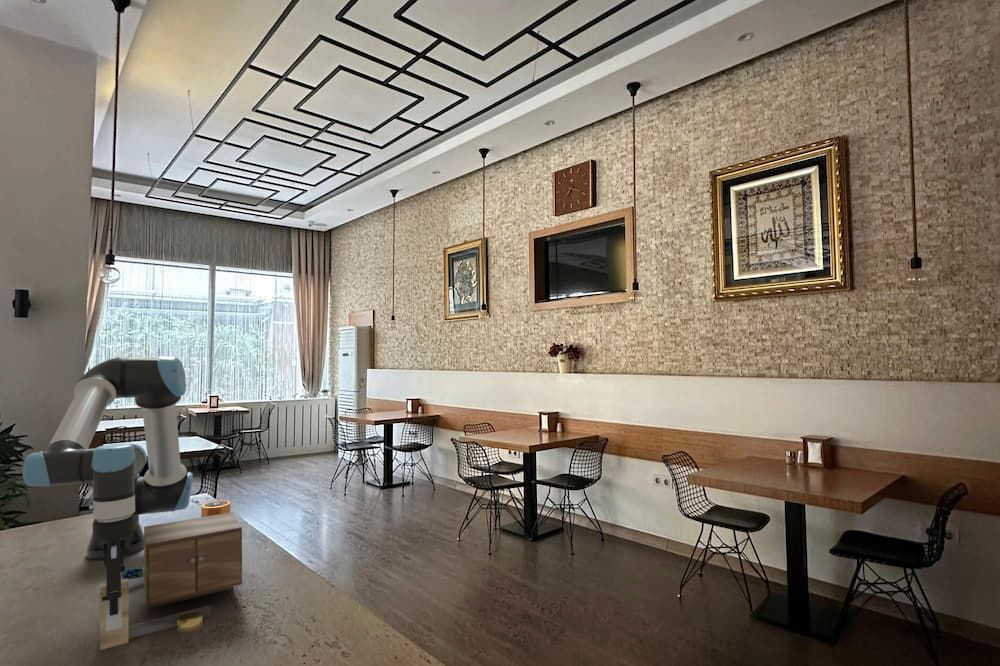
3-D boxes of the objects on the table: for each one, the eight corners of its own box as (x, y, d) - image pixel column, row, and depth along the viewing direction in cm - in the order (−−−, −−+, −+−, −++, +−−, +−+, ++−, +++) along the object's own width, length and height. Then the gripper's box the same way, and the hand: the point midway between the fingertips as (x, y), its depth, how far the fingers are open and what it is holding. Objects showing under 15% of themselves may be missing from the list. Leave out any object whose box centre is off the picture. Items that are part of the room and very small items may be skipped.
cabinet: (144, 601, 139) (144, 526, 139) (232, 581, 150) (232, 512, 150) (146, 628, 125) (146, 546, 126) (243, 604, 137) (242, 528, 137)
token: (176, 627, 126) (176, 616, 126) (201, 620, 129) (201, 610, 129) (178, 636, 122) (178, 625, 122) (203, 629, 125) (203, 619, 125)
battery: (225, 579, 151) (225, 505, 152) (197, 581, 150) (197, 507, 150) (234, 569, 158) (233, 498, 159) (207, 571, 157) (206, 499, 158)
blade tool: (100, 639, 121) (100, 584, 121) (208, 612, 133) (208, 561, 133) (99, 650, 117) (99, 592, 117) (211, 620, 129) (211, 568, 129)
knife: (106, 588, 143) (108, 570, 144) (104, 585, 146) (106, 567, 146) (230, 567, 164) (232, 552, 165) (227, 564, 167) (228, 549, 167)
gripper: (95, 505, 129) (95, 597, 129) (89, 537, 108) (90, 647, 108) (133, 500, 133) (134, 589, 133) (135, 529, 112) (136, 635, 112)
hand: (114, 615), depth 121 cm, fingers open, 13 cm apart
